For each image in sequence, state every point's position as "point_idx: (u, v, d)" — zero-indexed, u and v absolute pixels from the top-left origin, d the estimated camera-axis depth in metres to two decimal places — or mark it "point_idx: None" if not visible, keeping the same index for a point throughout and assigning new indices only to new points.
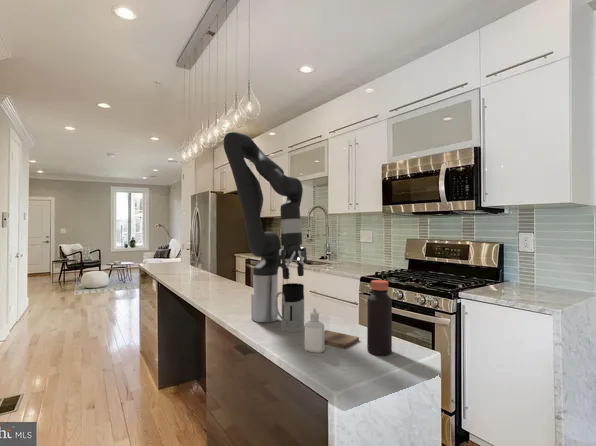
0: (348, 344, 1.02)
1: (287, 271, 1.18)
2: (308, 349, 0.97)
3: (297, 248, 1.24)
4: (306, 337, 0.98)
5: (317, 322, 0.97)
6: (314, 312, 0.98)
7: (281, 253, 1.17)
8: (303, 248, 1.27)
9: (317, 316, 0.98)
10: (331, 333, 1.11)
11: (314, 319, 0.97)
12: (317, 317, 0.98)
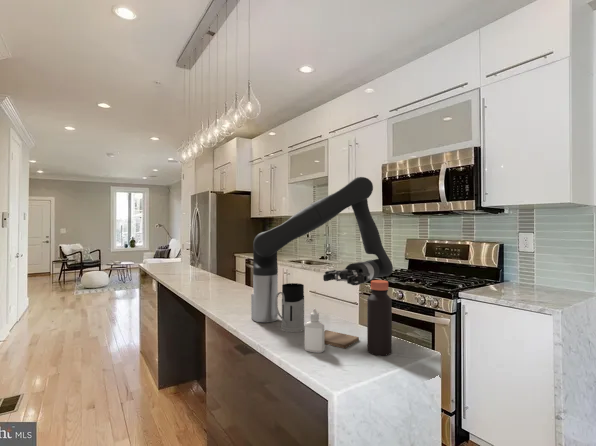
0: (348, 344, 1.02)
1: (353, 282, 1.07)
2: (308, 349, 0.97)
3: None
4: (306, 337, 0.98)
5: (317, 322, 0.97)
6: (314, 312, 0.98)
7: (368, 279, 1.11)
8: None
9: (317, 316, 0.98)
10: (331, 333, 1.11)
11: (314, 319, 0.97)
12: (317, 317, 0.98)
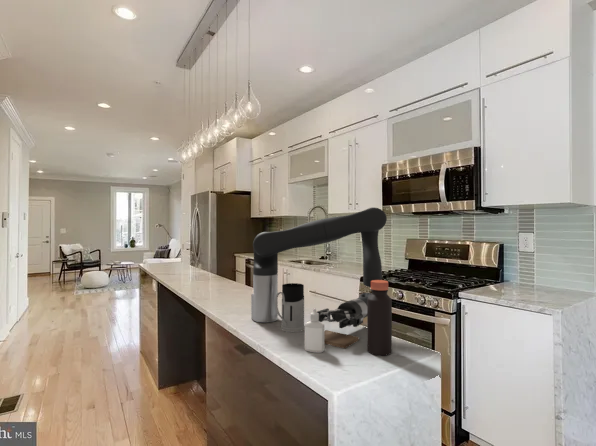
0: (348, 344, 1.02)
1: None
2: (308, 349, 0.97)
3: None
4: (306, 337, 0.98)
5: (317, 322, 0.97)
6: (314, 312, 0.98)
7: (361, 321, 1.07)
8: None
9: (317, 316, 0.98)
10: (331, 333, 1.11)
11: (314, 319, 0.97)
12: (317, 317, 0.98)
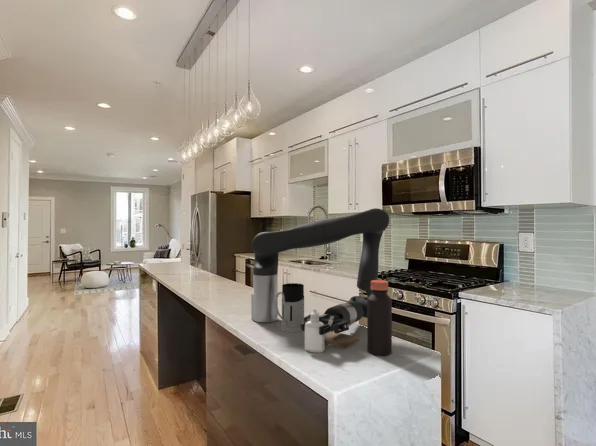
0: (348, 344, 1.02)
1: (326, 332, 0.97)
2: (308, 349, 0.97)
3: None
4: (306, 337, 0.98)
5: (317, 322, 0.97)
6: (314, 312, 0.98)
7: (346, 328, 1.00)
8: None
9: (318, 316, 0.97)
10: (331, 333, 1.11)
11: (315, 320, 0.97)
12: (317, 317, 0.97)
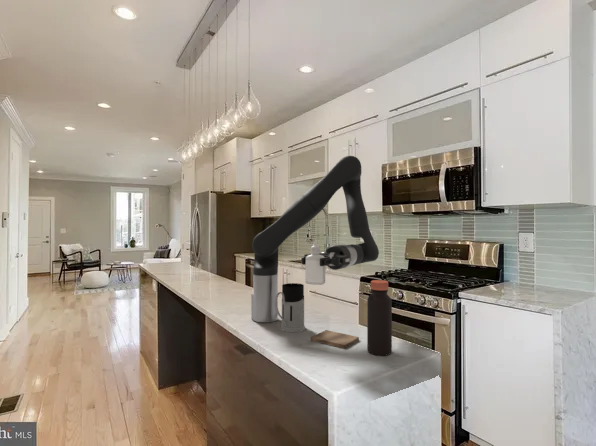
0: (348, 344, 1.02)
1: (326, 264, 0.97)
2: (309, 282, 0.97)
3: None
4: (307, 270, 0.98)
5: (318, 255, 0.97)
6: (315, 245, 0.98)
7: (347, 262, 1.00)
8: None
9: (318, 249, 0.97)
10: (331, 333, 1.11)
11: (315, 252, 0.97)
12: (318, 250, 0.97)
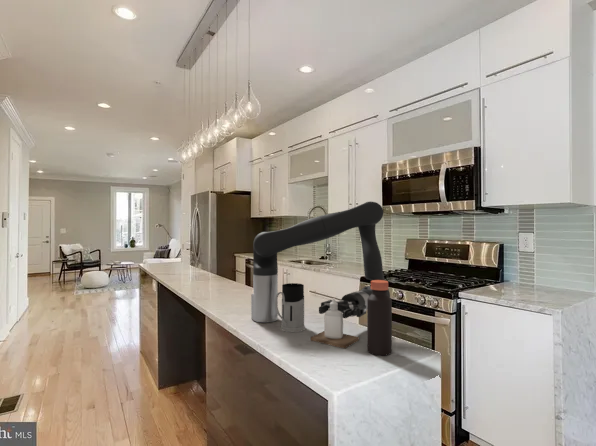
0: (348, 344, 1.02)
1: None
2: (328, 336, 1.06)
3: None
4: (326, 325, 1.06)
5: (336, 311, 1.06)
6: (333, 302, 1.06)
7: (365, 312, 1.09)
8: None
9: (337, 305, 1.06)
10: None
11: (334, 308, 1.06)
12: (336, 306, 1.06)
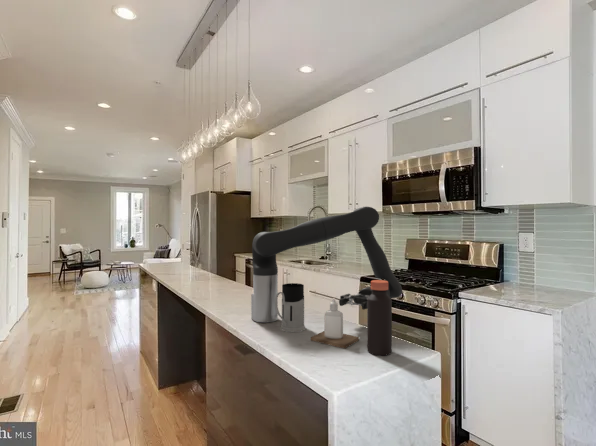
0: (348, 344, 1.02)
1: None
2: (328, 336, 1.06)
3: None
4: (326, 325, 1.06)
5: (336, 311, 1.06)
6: (333, 302, 1.06)
7: None
8: None
9: (336, 305, 1.06)
10: None
11: (334, 308, 1.06)
12: (336, 306, 1.06)
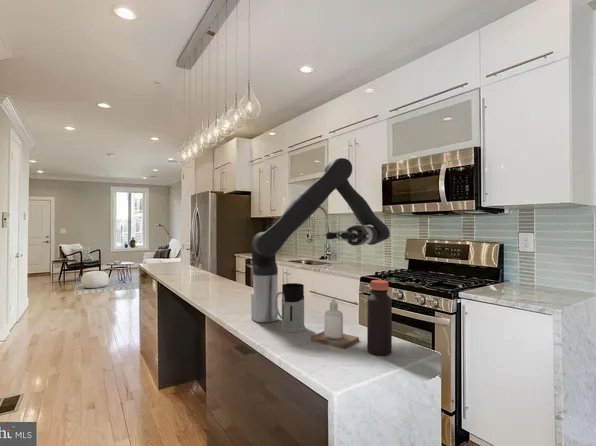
0: (348, 344, 1.02)
1: (353, 239, 1.18)
2: (328, 336, 1.06)
3: None
4: (326, 325, 1.06)
5: (336, 311, 1.06)
6: (333, 302, 1.06)
7: (367, 237, 1.22)
8: None
9: (336, 305, 1.06)
10: None
11: (334, 308, 1.06)
12: (336, 306, 1.06)
